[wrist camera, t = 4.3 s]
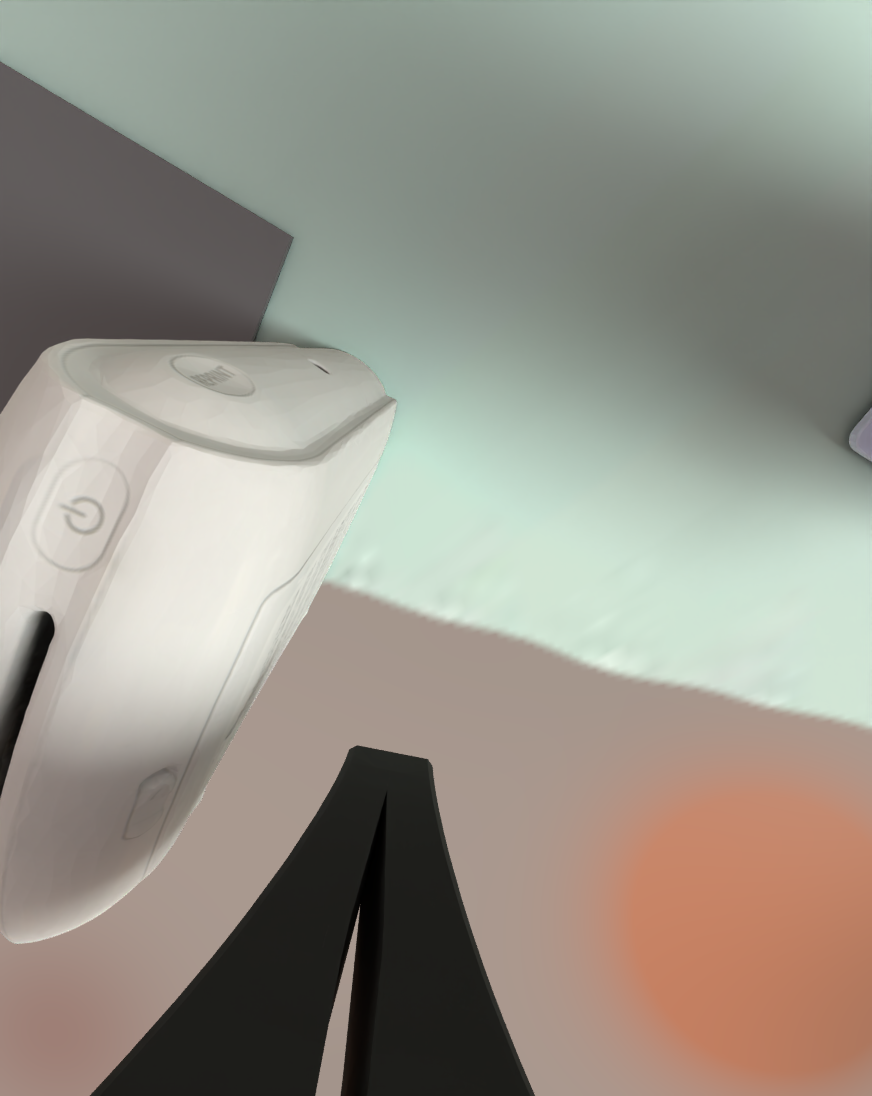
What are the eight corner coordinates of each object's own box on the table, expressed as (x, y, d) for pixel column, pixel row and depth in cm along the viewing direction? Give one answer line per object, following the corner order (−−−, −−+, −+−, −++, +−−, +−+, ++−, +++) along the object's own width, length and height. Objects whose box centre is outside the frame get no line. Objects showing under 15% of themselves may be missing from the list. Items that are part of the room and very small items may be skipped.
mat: (293, 237, 15) (291, 236, 14) (148, 615, 19) (145, 618, 19) (-28, 45, 13) (-35, 40, 13) (-98, 501, 18) (-103, 503, 18)
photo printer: (290, 316, 15) (-212, 245, 4) (419, 385, 16) (313, 504, 4) (189, 590, 19) (-226, 970, 8) (297, 638, 20) (65, 1062, 8)
